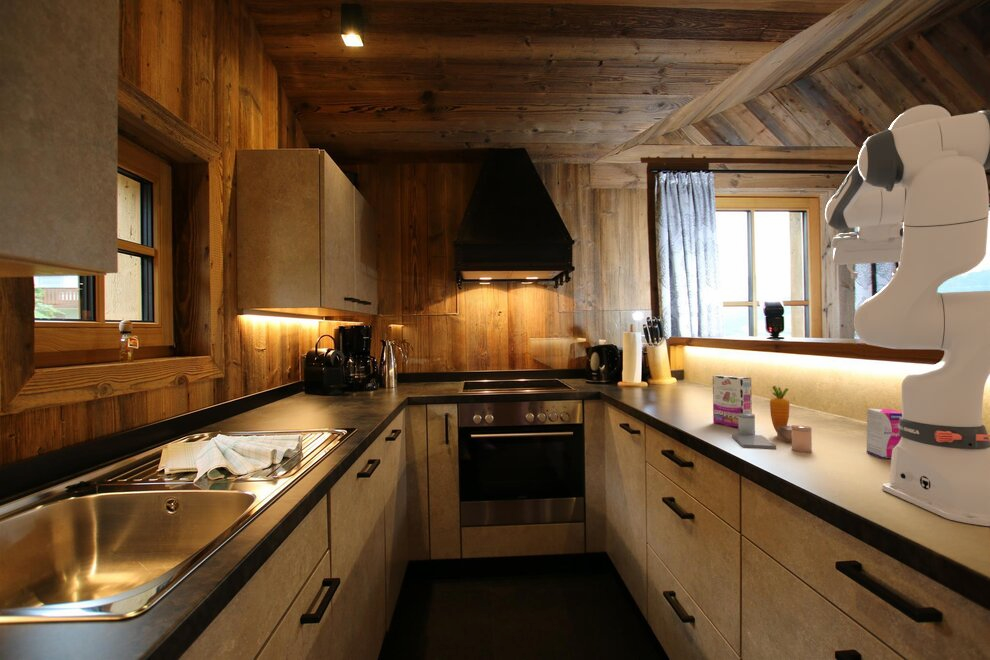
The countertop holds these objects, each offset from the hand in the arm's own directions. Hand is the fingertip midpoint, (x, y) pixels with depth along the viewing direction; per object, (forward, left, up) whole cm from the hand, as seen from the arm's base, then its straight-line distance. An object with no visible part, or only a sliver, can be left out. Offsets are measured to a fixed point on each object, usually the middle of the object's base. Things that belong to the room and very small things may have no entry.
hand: (874, 277), depth 133 cm
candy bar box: (+8, +37, -47) cm, 60 cm away
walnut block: (-11, +26, -47) cm, 55 cm away
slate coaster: (-15, +37, -47) cm, 62 cm away
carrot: (-5, +27, -47) cm, 54 cm away
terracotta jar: (-21, +27, -47) cm, 58 cm away
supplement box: (-23, +9, -47) cm, 53 cm away
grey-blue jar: (-5, +36, -47) cm, 59 cm away
